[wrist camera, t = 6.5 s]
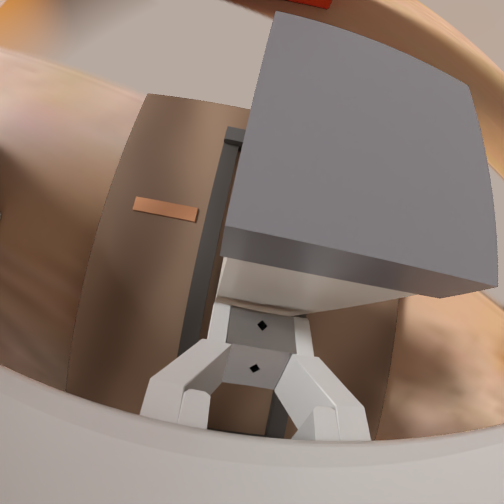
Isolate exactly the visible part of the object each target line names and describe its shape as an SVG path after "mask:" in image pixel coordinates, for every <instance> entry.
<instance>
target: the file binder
mask: <svg viewBox="0 0 504 504" xmlns="http://www.w3.org/2000/svg"><path fill="white" fill-rule="evenodd" d="M287 1H292V2H297V3H302V4H307V5H312V6H316V7H320V8H325V9H328V8H329V6H330V4H331V1H332V0H287Z"/></svg>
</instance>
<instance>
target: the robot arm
mask: <svg viewBox="0 0 504 504" xmlns="http://www.w3.org/2000/svg"><path fill="white" fill-rule="evenodd" d="M221 382H226V383H233V384H240V385H248V386H254V387H260V388H266V389H273V390H274V391H275V393H276V395H277V396H278V398H279V400H280V401H281V403H282V405H283V406H284V408H285V409H286V411H287V413H288V414H289V416H290V417H291V419H292V421H293V422H294V424H295V425H296V427H297V429H298V431H297V432H296V433H295V434H294V436H293V437H292V438H291V439H280V438H268V437H258V436H249V435H241V434H234V433H227V432H220V431H214V430H208V429H207V423H208V414H209V406H210V398H211V396H210V395H211V394H212V393H213V392H214V391H215V390H216V388H217V387H218V386H219V385H220V384H221ZM0 504H504V424H499V425H495V426H490V427H485V428H480V429H475V430H469V431H463V432H457V433H451V434H444V435H436V436H427V437H418V438H407V439H393V440H373V441H371V438H370V433H369V428H368V423H367V418H366V413H365V408H364V407H363V405H362V404H361V403H360V402H359V401H358V400H357V399H356V398H355V397H354V396H353V395H352V393H351V392H350V391H349V390H348V389H347V388H346V387H345V386H344V385H343V384H342V382H341V381H340V380H339V379H338V378H337V377H336V376H335V375H334V374H333V372H332V371H331V370H330V369H329V368H328V367H327V366H326V365H325V364H324V362H323V361H322V360H321V359H320V358H319V357H314V351H313V344H312V337H311V331H310V325H309V320H308V319H307V318H300V317H293V316H292V317H291V316H285V315H279V314H273V313H267V312H261V311H256V310H252V309H247V308H242V307H237V306H233V305H231V306H230V305H227V304H222V303H217V302H214V305H213V309H212V315H211V320H210V325H209V330H208V336H207V339H201V340H200V341H199V342H197V343H196V344H195V345H193V346H192V347H191V348H189V349H188V350H187V351H186V352H184V353H183V354H182V355H180V356H179V357H178V358H176V359H175V360H174V361H173V362H171V363H170V364H169V365H167V366H166V367H165V368H163V369H162V370H161V371H159V372H158V373H157V374H155V375H154V376H153V377H151V378H150V380H149V384H148V387H147V390H146V394H145V397H144V401H143V404H142V408H141V411H140V415H138V414H134V413H130V412H126V411H123V410H119V409H116V408H112V407H109V406H106V405H103V404H99V403H96V402H93V401H90V400H87V399H84V398H81V397H78V396H75V395H72V394H70V393H67V392H64V391H61V390H59V389H56V388H54V387H51V386H48V385H46V384H43V383H41V382H39V381H36V380H34V379H31V378H29V377H27V376H24V375H22V374H20V373H18V372H16V371H13V370H11V369H9V368H7V367H5V366H3V365H1V364H0Z"/></svg>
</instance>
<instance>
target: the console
mask: <svg viewBox="0 0 504 504" xmlns="http://www.w3.org/2000/svg"><path fill="white" fill-rule="evenodd" d="M249 115H250V109H245V108H240V107H235V106H229V105H224V104H218V103H213V102H207V101H201V100H194V99H187V98H180V97H173V96H165V95H157V94H147V96H146V98H145V101H144V103H143V105H142V107H141V110H140V112H139V114H138V116H137V119H136V121H135V123H134V126H133V128H132V131H131V133H130V136H129V138H128V141H127V143H126V146H125V148H124V151H123V153H122V156H121V159H120V161H119V164H118V167H117V170H116V172H115V175H114V178H113V181H112V184H111V187H110V190H109V193H108V196H107V199H106V202H105V205H104V208H103V211H102V215H101V218H100V221H99V225H98V228H97V232H96V235H95V239H94V242H93V246H92V250H91V254H90V257H89V261H88V265H87V270H86V274H85V278H84V282H83V287H82V291H81V296H80V301H79V306H78V311H77V316H76V321H75V327H74V333H73V339H72V345H71V352H70V359H69V366H68V374H67V383H66V392H67V393H70V394H72V395H75V396H78V397H81V398H84V399H87V400H90V401H93V402H96V403H99V404H103V405H106V406H109V407H112V408H116V409H119V410H123V411H126V412H130V413H134V414H138V415H140V411H141V408H142V404H143V401H144V397H145V394H146V390H147V387H148V384H149V380H150V378H151V377H153V376H154V375H155V374H157V373H158V372H159V371H161V370H162V369H163V368H165V367H166V366H167V365H169V364H170V363H171V362H173V361H174V360H175V359H176V358H178V357H179V356H180V355H182V354H183V353H184V352H186V351H187V350H188V349H189V348H191V347H192V346H193V345H195V344H196V343H197V342H199V341H200V340H201V339H207V336H208V330H209V325H210V320H211V315H212V309H213V305H214V302H215V299H216V293H217V288H218V283H219V278H220V273H221V268H222V263H223V258H224V257H222V256H220V251H221V245H222V239H223V233H224V227H225V222H226V217H227V213H228V208H229V203H230V199H231V194H232V189H233V185H234V180H235V176H236V171H237V167H238V162H239V158H240V153H241V149H242V145H243V140H244V136H245V132H246V127H247V123H248V119H249ZM398 303H399V298H397V299H392V300H387V301H381V302H376V303H370V304H365V305H359V306H353V307H347V308H341V309H335V310H328V311H322V312H315V313H309V314H302V315H295V316H293V317H300V318H307V319H308V320H309V325H310V331H311V337H312V344H313V351H314V357H319V358H320V359H321V360H322V361H323V362H324V364H325V365H326V366H327V367H328V368H329V369H330V370H331V371H332V372H333V374H334V375H335V376H336V377H337V378H338V379H339V380H340V381H341V382H342V384H343V385H344V386H345V387H346V388H347V389H348V390H349V391H350V392H351V393H352V395H353V396H354V397H355V398H356V399H357V400H358V401H359V402H360V403H361V404H362V405H363V407H364V408H365V413H366V418H367V423H368V428H369V433H370V438H371V441H373V440H375V438H376V434H377V430H378V426H379V421H380V417H381V412H382V408H383V403H384V398H385V393H386V388H387V382H388V377H389V371H390V365H391V358H392V352H393V345H394V338H395V330H396V322H397V313H398ZM291 317H292V316H291ZM210 396H211V398H210V406H209V414H208V423H207V429H208V430H214V431H220V432H227V433H234V434H241V435H249V436H258V437H268V438H280V439H291V438H292V437H293V436H294V434H295V433H296V432H297V431H298V429H297V427H296V425H295V424H294V422H293V421H292V419H291V417H290V416H289V414H288V413H287V411H286V409H285V408H284V406H283V405H282V403H281V401H280V400H279V398H278V396H277V395H276V393H275V391H274V390H273V389H266V388H260V387H254V386H248V385H240V384H233V383H226V382H221V384H220V385H219V386H218V387H217V388H216V390H215V391H214V392H213V393H212V394H211V395H210Z"/></svg>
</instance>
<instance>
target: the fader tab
mask: <svg viewBox="0 0 504 504" xmlns="http://www.w3.org/2000/svg"><path fill="white" fill-rule="evenodd" d="M220 256H222V257H224V258H223V263H222V268H221V273H220V278H219V283H218V288H217V293H216V299H215V302H217V303H222V304H227V305H230V306H231V305H233V306H237V307H242V308H247V309H252V310H256V311H261V312H267V313H273V314H279V315H285V316H295V315H302V314H309V313H315V312H322V311H328V310H335V309H341V308H347V307H353V306H359V305H365V304H370V303H376V302H381V301H387V300H392V299H397V298H403V297H408V296H413V295H418V294H419V295H424V296H429V297H435V298H445V297H450V296H456V295H461V294H466V293H471V292H476V291H481V290H485V289H490V288H494V287H498V257H497V256H498V255H497V235H496V222H495V212H494V203H493V195H492V188H491V181H490V174H489V168H488V163H487V157H486V152H485V147H484V142H483V138H482V133H481V129H480V125H479V121H478V117H477V113H476V110H475V106H474V102H473V99H472V96H471V92H470V89H469V86H468V85H466V84H464V83H463V82H461V81H459V80H457V79H456V78H454V77H452V76H450V75H448V74H447V73H445V72H443V71H441V70H439V69H437V68H435V67H433V66H431V65H429V64H427V63H425V62H423V61H421V60H419V59H417V58H415V57H413V56H410V55H408V54H406V53H404V52H402V51H399V50H397V49H395V48H392V47H390V46H388V45H385V44H383V43H380V42H378V41H375V40H372V39H370V38H367V37H365V36H362V35H359V34H356V33H353V32H351V31H348V30H345V29H342V28H338V27H335V26H332V25H329V24H326V23H322V22H319V21H315V20H312V19H308V18H304V17H300V16H297V15H293V14H288V13H284V12H280V11H276V12H275V15H274V19H273V23H272V27H271V30H270V34H269V38H268V42H267V46H266V50H265V54H264V58H263V62H262V66H261V69H260V74H259V78H258V82H257V86H256V90H255V94H254V98H253V102H252V106H251V110H250V115H249V119H248V123H247V127H246V132H245V136H244V140H243V145H242V149H241V153H240V158H239V162H238V167H237V171H236V176H235V180H234V185H233V189H232V194H231V199H230V203H229V208H228V213H227V217H226V222H225V227H224V233H223V239H222V245H221V251H220Z"/></svg>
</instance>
